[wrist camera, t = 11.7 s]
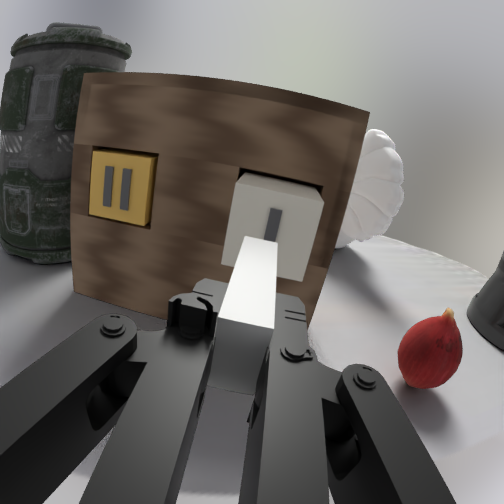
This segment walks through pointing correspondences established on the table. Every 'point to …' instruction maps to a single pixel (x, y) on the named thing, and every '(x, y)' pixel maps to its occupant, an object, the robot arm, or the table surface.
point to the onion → (430, 351)
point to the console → (202, 179)
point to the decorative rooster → (373, 190)
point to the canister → (46, 134)
